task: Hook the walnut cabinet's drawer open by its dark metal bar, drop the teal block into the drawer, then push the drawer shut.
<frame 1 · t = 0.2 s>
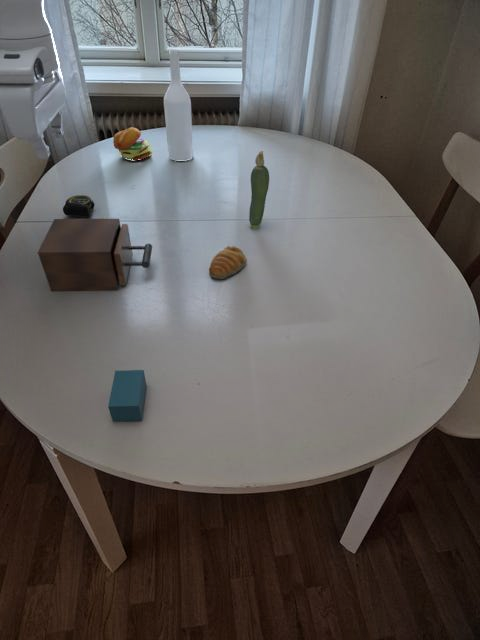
hand: (52, 146, 75), 27 cm above the table, tool pointing down, fingers open, 8 cm apart
bottle: (181, 157, 140), on the table
cabinet: (90, 272, 94), on the table
tape measure: (82, 215, 111), on the table
vegetable: (256, 228, 109), on the table
pastry: (227, 268, 96), on the table
teal block: (130, 402, 69), on the table
cheeseburger: (134, 157, 139), on the table
drawer: (108, 254, 91), point 5 cm above the table, slide at 0.5 cm
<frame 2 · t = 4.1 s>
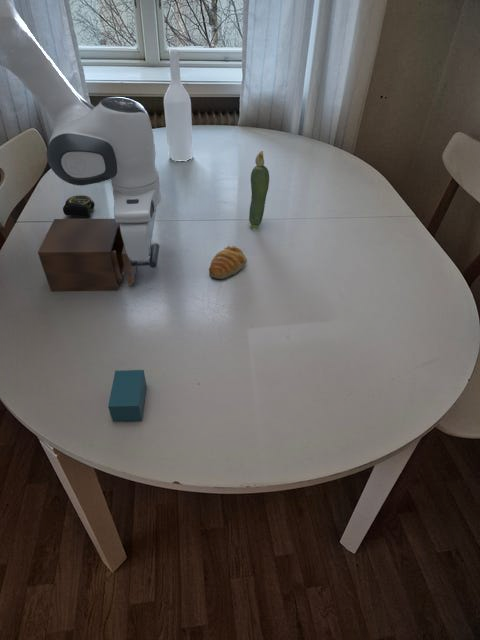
hand: (147, 252, 91), 5 cm above the table, tool pointing down, fingers closed, pressing on drawer
drawer: (116, 253, 91), point 5 cm above the table, slide at 2.0 cm, touching gripper
everything else where it was.
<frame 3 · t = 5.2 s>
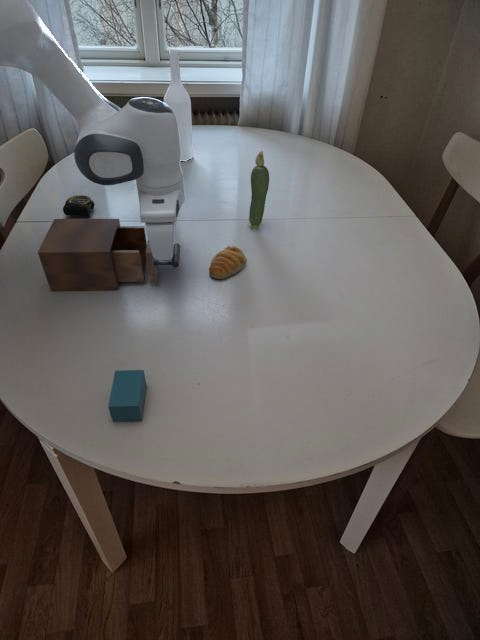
hand: (169, 252, 91), 5 cm above the table, tool pointing down, fingers closed, pressing on drawer
drawer: (138, 253, 91), point 5 cm above the table, slide at 6.6 cm, touching gripper
everything else where it was.
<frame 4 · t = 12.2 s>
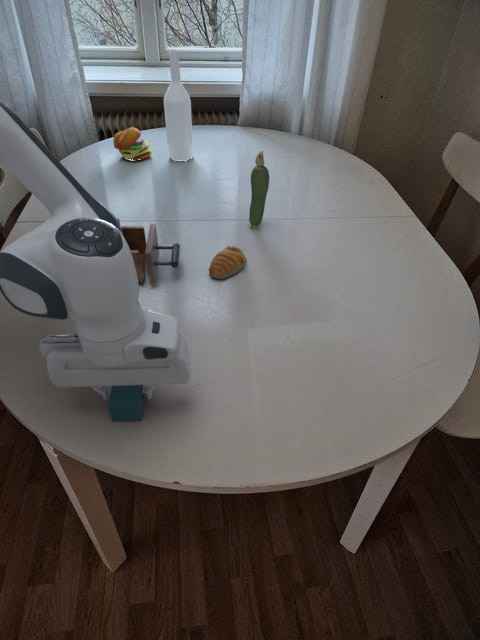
hand: (128, 396, 68), 2 cm above the table, tool pointing down, fingers closed on teal block, 4 cm apart
teal block: (130, 402, 69), on the table, touching gripper
drawer: (137, 253, 91), point 5 cm above the table, slide at 6.5 cm
everything else where it was.
when the fingers open (10 cm above the table, at t = 19.0 s): teal block drops 6 cm, resting on drawer.
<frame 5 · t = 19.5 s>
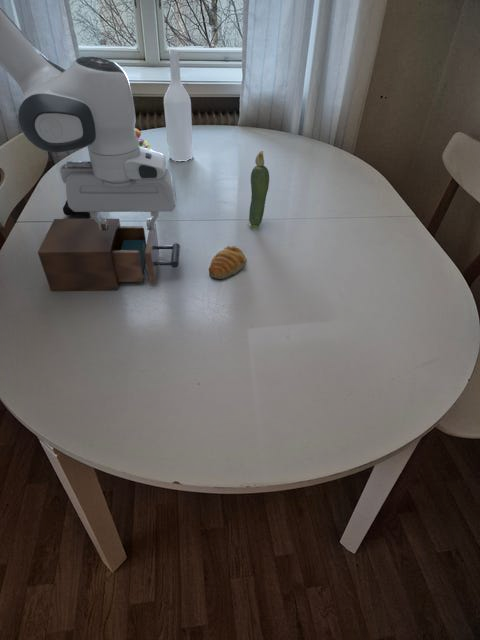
hand: (127, 228, 87), 11 cm above the table, tool pointing down, fingers open, 8 cm apart
teal block: (134, 264, 93), point 2 cm above the table, touching drawer
drawer: (137, 253, 91), point 5 cm above the table, slide at 6.5 cm, touching teal block
everything else where it was.
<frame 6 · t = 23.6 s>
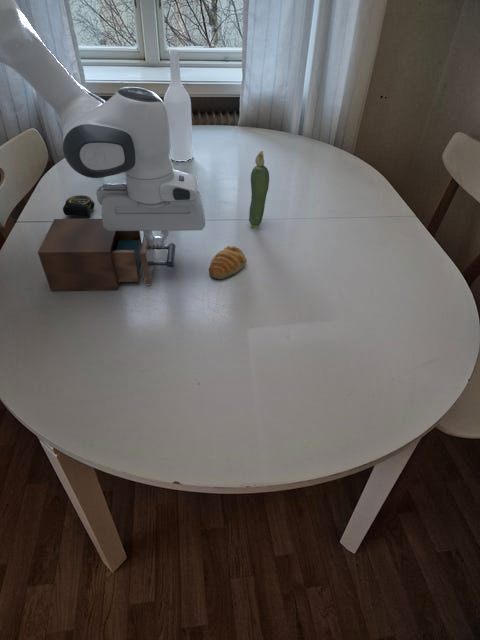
hand: (158, 246, 90), 7 cm above the table, tool pointing down, fingers closed
drawer: (133, 253, 91), point 5 cm above the table, slide at 5.6 cm, touching teal block, gripper
everything else where it was.
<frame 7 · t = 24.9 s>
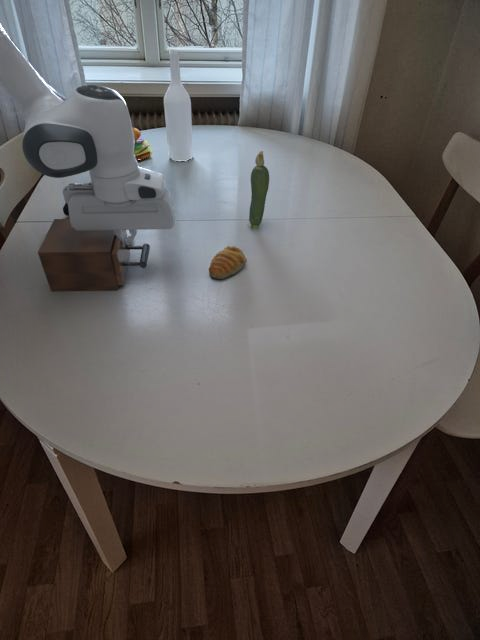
hand: (129, 245, 90), 7 cm above the table, tool pointing down, fingers closed
teal block: (103, 264, 92), point 2 cm above the table, touching drawer
drawer: (106, 254, 91), point 5 cm above the table, slide at 0.0 cm, touching cabinet, teal block, gripper
everything else where it was.
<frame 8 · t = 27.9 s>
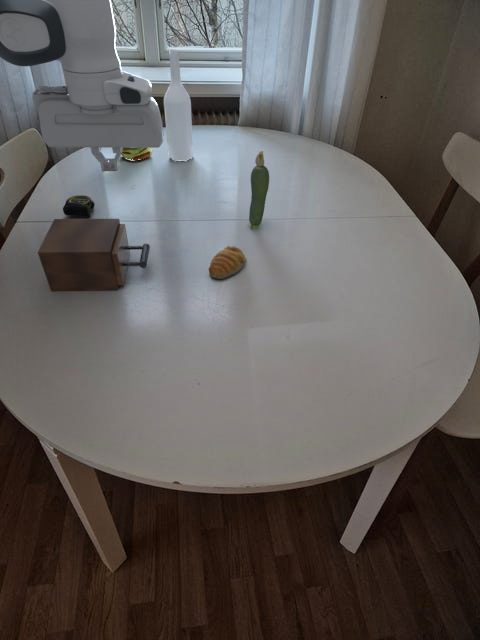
hand: (110, 170, 78), 23 cm above the table, tool pointing down, fingers closed
drawer: (106, 254, 91), point 5 cm above the table, slide at 0.0 cm, touching cabinet, teal block
everything else where it was.
at the end: drawer pulled out 6.6 cm at the most during the clip, back to where it started at the end; teal block inside the target area in the cabinet (3.1 cm from its centre), point 2.0 cm above the cabinet's base; drawer slide at 0.0 cm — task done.
